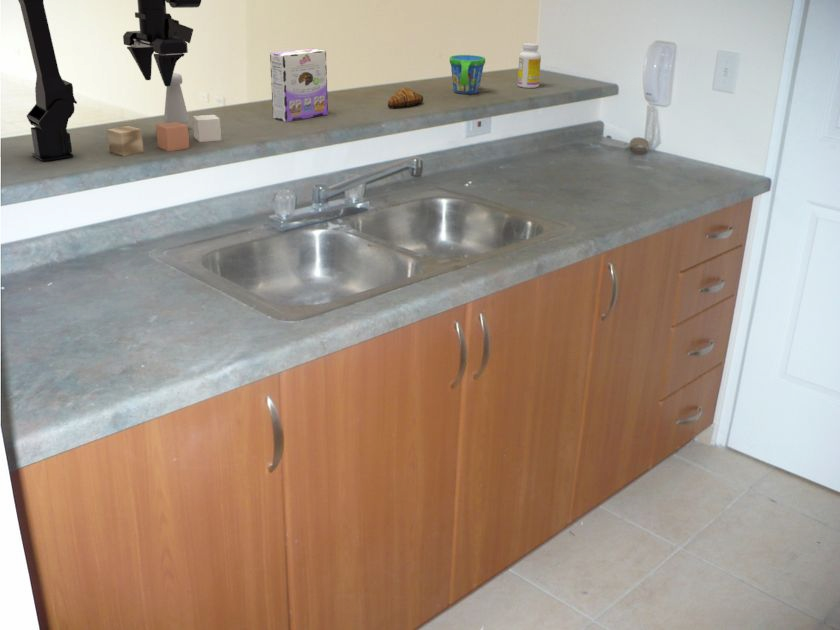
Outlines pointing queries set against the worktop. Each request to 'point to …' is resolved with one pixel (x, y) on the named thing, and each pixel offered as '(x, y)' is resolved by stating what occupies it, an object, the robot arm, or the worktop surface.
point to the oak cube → (125, 140)
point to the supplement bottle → (529, 66)
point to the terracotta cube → (172, 136)
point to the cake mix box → (299, 84)
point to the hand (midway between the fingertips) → (157, 83)
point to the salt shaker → (175, 102)
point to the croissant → (404, 98)
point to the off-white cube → (207, 128)
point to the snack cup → (466, 73)
